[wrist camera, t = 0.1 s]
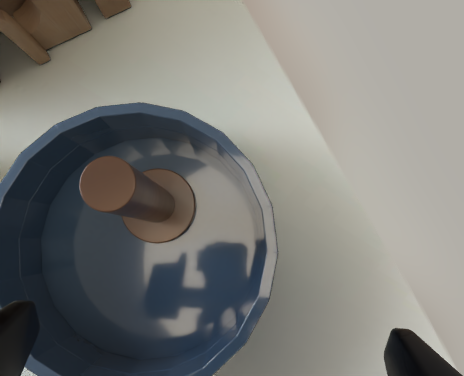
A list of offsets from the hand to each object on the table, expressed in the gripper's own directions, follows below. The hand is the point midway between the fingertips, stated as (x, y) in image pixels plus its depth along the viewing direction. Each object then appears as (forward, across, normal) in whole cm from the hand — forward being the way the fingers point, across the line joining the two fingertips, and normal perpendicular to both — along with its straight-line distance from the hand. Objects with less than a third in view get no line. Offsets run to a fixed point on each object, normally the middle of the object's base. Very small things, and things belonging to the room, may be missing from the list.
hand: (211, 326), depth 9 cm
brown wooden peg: (+14, +5, +4) cm, 15 cm away
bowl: (+13, +5, +7) cm, 16 cm away
